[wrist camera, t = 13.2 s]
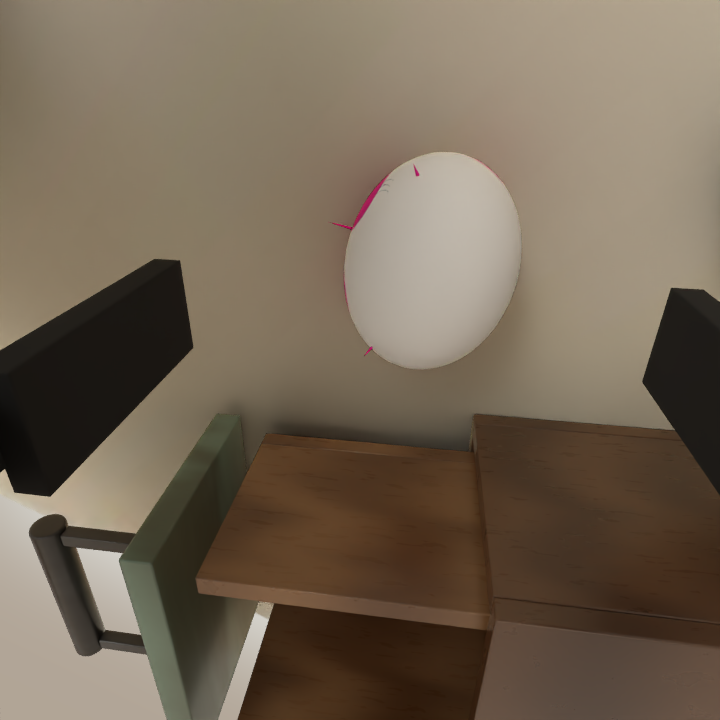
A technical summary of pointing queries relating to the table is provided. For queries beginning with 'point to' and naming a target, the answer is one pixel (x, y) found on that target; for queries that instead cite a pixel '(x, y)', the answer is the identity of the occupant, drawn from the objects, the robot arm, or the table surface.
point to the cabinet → (596, 573)
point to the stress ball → (432, 260)
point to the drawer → (297, 579)
